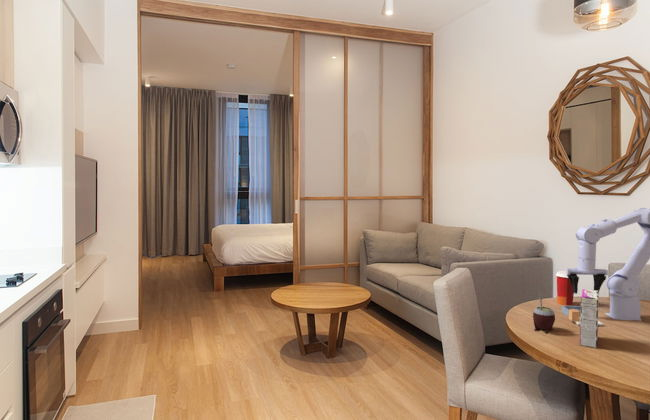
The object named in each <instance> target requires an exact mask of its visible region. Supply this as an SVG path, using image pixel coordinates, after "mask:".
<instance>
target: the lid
mask: <svg viewBox="0 0 650 420" xmlns="http://www.w3.org/2000/svg"><path fill="white" fill-rule="evenodd" d="M568 319H569V320H570V321H571V322H574V323H575V324H576V325H578V326H580V324H581V317H580V312H579V311H578V310H573V309H569V317H568ZM598 326H602V327H603V326H604V323H603V322H601V321H600V320H598Z"/></svg>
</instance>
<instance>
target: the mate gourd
mask: <svg viewBox="0 0 650 420" xmlns="http://www.w3.org/2000/svg"><path fill="white" fill-rule="evenodd" d="M538 295H539V296H538V297H539V305H540V306H537V307H535V309H534V310H533V312H532V313H533V314H532V319H533V327H534V331H535V332H541V331H543V332H544V334H547V335H548V334H549V330H550V331H552V330H553V327H554V324H555V322H556V315H555V312H554V310H553V309H552V308H550V307H548V306H543V298H542V297H543V296H542V294H541V293H540V292H538Z"/></svg>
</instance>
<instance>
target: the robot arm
mask: <svg viewBox="0 0 650 420" xmlns="http://www.w3.org/2000/svg"><path fill="white" fill-rule="evenodd" d="M636 223H637V224H638V225H639V227H640V228H641V231H642V232H643V234H644V235H643V237H642V238H641V239H640V241H639V243H638V245H637V246H636V248H634V250H633V251H632V254H631V255H630V256H629V258H628V259H627V261H626V262H625V264H624V266H623V267H622V268H621V269H618V270H616V271H614V273H613V275H611V276H609V275H608V273H609V270H608V269H604V268H602V269H600V268H596V262H597V261H596V259H597V243H598V242H599V241H600V240H601V239H602V238H605V237H607V236H610V235H613V234H615V233H616V232H617V231H618V230H617V229H620V228H623V227H626V226H630V225H633V224H636ZM575 238H576V239H577V240H578V241H577V243H578V259H577V260H578V261H577V267H575V268H565V270H564V271H565V274H567V276H568V278H569V280H570V282H571V285H572V289H573V293H574V295H576V294H578V290H579V289H578V288H579V287H578V286H579V285H578V284H579V281H580V277H579V276H578V275H582V276H583V275H585V276H586V275H589V276H590V275H591V276H593V277H592V278H593V290H596V291H598V292H599V293H600V290H601V287H602V285H603V284H604V282H605V281H606V282H605V284H606V287H607V290H609V293H610V296H609V312H605V313H604V314H605V315H607V316H608V317H610V318H612V319H613V320H616V321H617V320H618V321H620V320H621V321H639V322H641V321H642V319H641V309H642V304H641V303H642V302H641V299H640V298H639V296H638V295H637V294H638V291H639V286H640V284H641V280H640V277H639V275H640V274H641V272H642V271H643V269H644V268H645V266H646V264H647V263H648V262H649V260H650V208H645V207H640V208H638V209H634V210H633V211H631V212H629V213H627V214H624V215H622V216H620V217H618V218H615V219H613V220H612V219H607V218H602V219H601V221H599V222H596V223H590V224H589V226H581V227H580V228H579V229H578V230H577V232H576V233H575ZM607 276H609V277H608V278H607Z"/></svg>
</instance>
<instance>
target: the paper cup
mask: <svg viewBox="0 0 650 420" xmlns="http://www.w3.org/2000/svg"><path fill="white" fill-rule="evenodd" d="M555 276H556V297H557V299H556V300H557V304H558V305H560V306H573V304H574V296H575V293H573V289H572V285H571V282H570V280H569V278H568V276H567V274H565V270H558V271H557V272H556V274H555Z"/></svg>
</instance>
